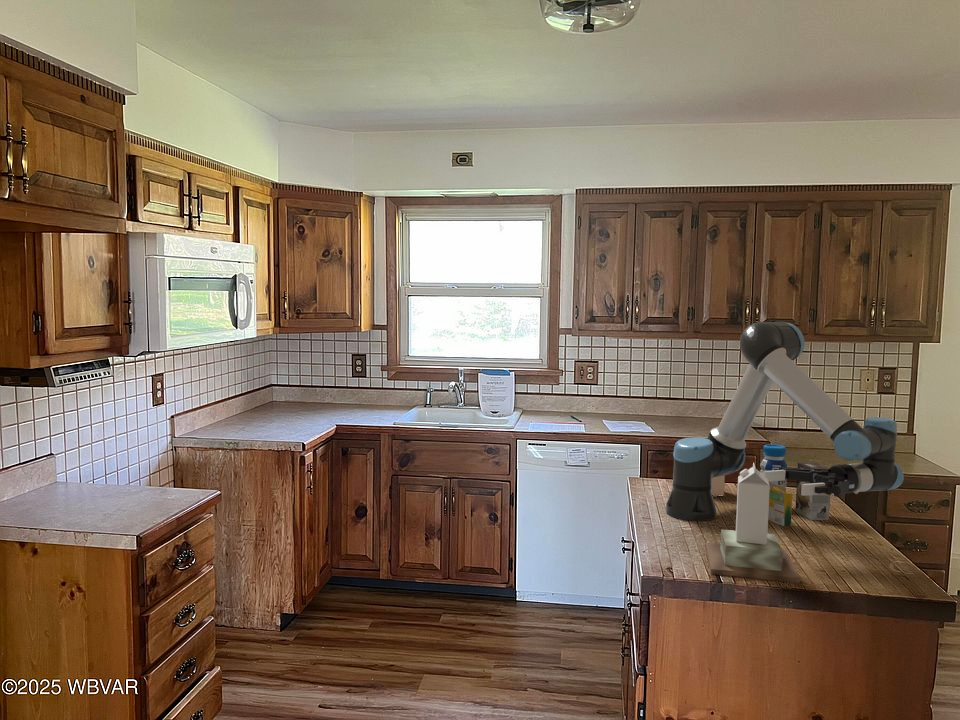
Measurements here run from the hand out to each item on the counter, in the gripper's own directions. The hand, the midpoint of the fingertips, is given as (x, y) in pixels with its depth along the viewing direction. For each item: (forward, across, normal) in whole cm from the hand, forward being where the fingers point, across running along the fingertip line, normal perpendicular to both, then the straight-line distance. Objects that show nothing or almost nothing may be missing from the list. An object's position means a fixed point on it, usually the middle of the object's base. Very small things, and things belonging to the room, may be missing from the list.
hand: (782, 482), depth 175 cm
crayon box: (-23, +27, -21) cm, 41 cm away
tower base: (+9, 0, -20) cm, 22 cm away
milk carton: (+9, 0, -14) cm, 17 cm away
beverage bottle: (-34, +42, -21) cm, 58 cm away
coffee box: (-39, +30, -21) cm, 53 cm away
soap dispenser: (-26, +60, -21) cm, 69 cm away
